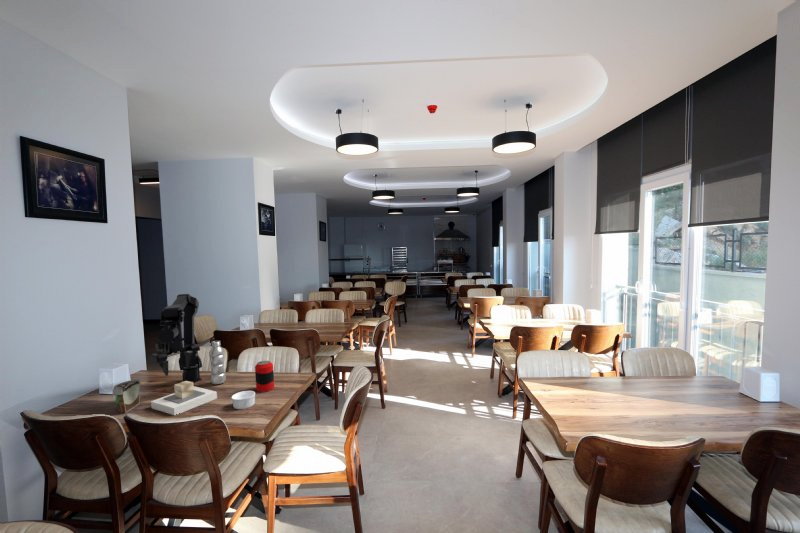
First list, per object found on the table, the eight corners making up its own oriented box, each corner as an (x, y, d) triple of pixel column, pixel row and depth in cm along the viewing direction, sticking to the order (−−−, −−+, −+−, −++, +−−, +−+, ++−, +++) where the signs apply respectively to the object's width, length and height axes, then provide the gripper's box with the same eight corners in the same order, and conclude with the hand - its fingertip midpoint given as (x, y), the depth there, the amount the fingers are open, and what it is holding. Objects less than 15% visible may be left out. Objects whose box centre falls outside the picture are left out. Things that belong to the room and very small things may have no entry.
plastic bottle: (207, 385, 179) (204, 342, 178) (219, 380, 185) (216, 339, 184) (217, 386, 177) (214, 343, 176) (229, 381, 183) (226, 340, 182)
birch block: (186, 392, 162) (186, 380, 162) (194, 394, 160) (193, 382, 159) (175, 396, 158) (174, 384, 158) (182, 398, 155) (181, 386, 155)
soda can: (262, 385, 176) (260, 359, 175) (277, 386, 174) (276, 360, 173) (252, 392, 168) (251, 365, 168) (268, 392, 167) (266, 365, 166)
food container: (126, 403, 161) (124, 379, 161) (141, 402, 162) (140, 378, 161) (106, 416, 149) (104, 390, 149) (123, 414, 150) (121, 389, 149)
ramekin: (255, 408, 151) (254, 397, 151) (230, 411, 149) (230, 400, 149) (256, 399, 160) (256, 389, 160) (233, 402, 157) (233, 392, 157)
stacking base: (194, 392, 171) (193, 385, 170) (217, 398, 163) (216, 390, 163) (151, 408, 155) (151, 400, 155) (174, 415, 147) (174, 407, 147)
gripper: (184, 329, 176) (186, 362, 177) (140, 340, 160) (144, 376, 161) (199, 331, 171) (202, 366, 172) (156, 343, 155) (159, 380, 156)
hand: (177, 372), depth 165 cm, fingers open, 9 cm apart
